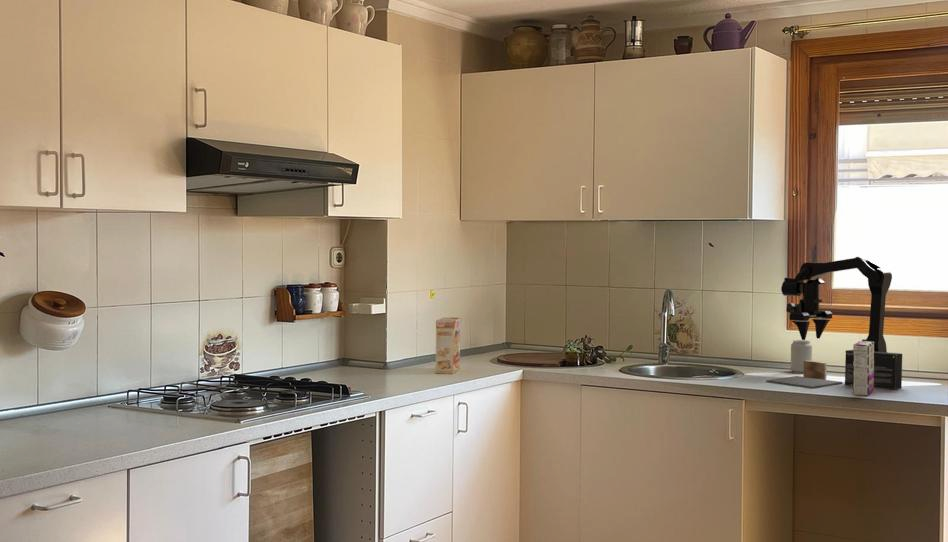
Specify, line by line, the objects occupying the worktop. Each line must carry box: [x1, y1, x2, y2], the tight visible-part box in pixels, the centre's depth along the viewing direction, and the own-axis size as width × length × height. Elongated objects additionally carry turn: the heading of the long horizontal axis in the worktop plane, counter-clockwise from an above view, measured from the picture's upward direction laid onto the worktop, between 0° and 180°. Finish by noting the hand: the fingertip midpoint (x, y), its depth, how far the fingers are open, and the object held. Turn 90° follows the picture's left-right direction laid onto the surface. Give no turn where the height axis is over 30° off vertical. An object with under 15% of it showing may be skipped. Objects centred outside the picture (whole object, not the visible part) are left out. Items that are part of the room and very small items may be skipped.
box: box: [844, 349, 903, 391], centre depth 317 cm, size 17×7×12 cm, turn 47°
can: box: [790, 339, 813, 374], centre depth 351 cm, size 8×8×12 cm
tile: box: [802, 360, 828, 380], centre depth 335 cm, size 8×2×6 cm, turn 38°
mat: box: [765, 375, 843, 389], centre depth 324 cm, size 18×18×1 cm
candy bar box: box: [852, 340, 875, 397], centre depth 303 cm, size 11×5×16 cm, turn 149°
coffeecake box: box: [435, 316, 462, 375], centre depth 346 cm, size 15×7×20 cm, turn 171°
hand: (810, 339), depth 343 cm, fingers open, 9 cm apart
